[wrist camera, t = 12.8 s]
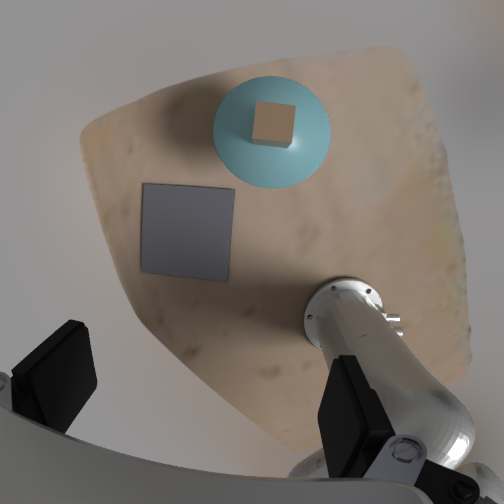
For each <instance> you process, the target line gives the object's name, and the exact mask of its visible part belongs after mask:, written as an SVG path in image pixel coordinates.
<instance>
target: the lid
mask: <svg viewBox="0 0 504 504" xmlns="http://www.w3.org/2000/svg"><path fill="white" fill-rule="evenodd" d="M330 134H331V131H330V123H329V119H328V115H327V113H326V110H325V108H324V107H323V105H322V103H321V102H320V100H319V99H318V98H317V97H316V96H315V95H314V94H313V93H312V92H311V91H310V90H309V89H308V88H306V87H305V86H303V85H302V84H300V83H298V82H296V81H293V80H290V79H287V78H283V77H276V76H266V77H259V78H254V79H251V80H248V81H246V82H244V83H242V84H240V85H239V86H237V87H236V88H234V89H233V90H232V91H231V92H230V93H229V94H228V95H227V96H226V97H225V98H224V100H223V101H222V103H221V104H220V106H219V108H218V110H217V112H216V115H215V119H214V124H213V139H214V144H215V148H216V150H217V153H218V155H219V157H220V159H221V161H222V162H223V163H224V165H225V166H226V167H227V168H228V169H229V170H230V172H232V173H233V174H234V175H235V176H236V177H238V178H240V179H241V180H243V181H245V182H247V183H249V184H251V185H255V186H258V187H263V188H283V187H288V186H291V185H294V184H297V183H299V182H301V181H303V180H304V179H306V178H307V177H309V176H310V175H311V174H312V173H313V172H315V171H316V169H317V168H318V167H319V166H320V164H321V163H322V161H323V160H324V158H325V156H326V154H327V151H328V148H329V144H330Z"/></svg>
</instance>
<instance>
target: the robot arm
mask: <svg viewBox="0 0 504 504" xmlns="http://www.w3.org/2000/svg"><path fill="white" fill-rule="evenodd" d="M332 286H334V287H333V288H331V287H332ZM367 289H368V290H367ZM309 314H311V315H310V316H308V315H309ZM399 321H400V316H399V314H386V312H385V311H384V310H383V304H382V301H381V298H380V296H379V294H378V293H377V292H376V290H375V289H374V288H373V287H372V286H371V285H369V284H368V283H366V282H364V281H363V280H359V279H356V278H341V279H337V280H334V281H331V282H329V283H327V284H325V285H324V286H322V287H321V288H320V289H318V290H317V291H316V292H315V293H314V294H313V296H312V297H311V299H310V300H309V302H308V304H307V306H306V308H305V312H304V328H305V332H306V335H307V337H308V338H309V340H310V342H311V343H312V344H313V345H314V346H315V347H317V348H318V349H320V350H322V351H323V354H324V357H325V360H326V363H327V366H328V369H329V376H328V380H327V384H326V387H325V391H324V394H323V398H322V401H321V404H320V408H319V411H318V424H319V429H320V434H321V439H322V444H323V448H321V449H319V450H318V451H316V452H315V453H313V454H312V455H310V456H309V457H307V458H306V459H304V460H303V461H301V462H300V463H298V464H297V465H296V466H295V467H294V468H293V469H292V471H291V472H290V473H289V475H288V477H287V478H274V477H256V476H243V475H231V474H223V473H215V472H208V471H201V470H195V469H189V468H183V467H178V466H173V465H167V464H163V463H158V462H154V461H149V460H146V459H141V458H138V457H133V456H130V455H126V454H123V453H119V452H116V451H112V450H109V449H106V448H103V447H100V446H97V445H93V444H91V443H88V442H84V441H82V440H79V439H77V438H74V437H71V436H69V435H66V434H65V432H66V431H67V429H68V428H69V427H70V425H71V424H72V422H73V420H74V419H75V418H76V416H77V415H78V413H79V412H80V410H81V409H82V408H83V406H84V405H85V403H86V402H87V400H88V399H89V398H90V396H91V395H92V393H93V392H94V391H95V389H96V387H97V377H96V372H95V368H94V362H93V357H92V351H91V345H90V338H89V333H88V328H87V327H86V326H85V324H84V323H83V322H80V321H75V320H68V321H67V322H66V323H65V324H64V325H62V326H61V327H60V328H59V329H58V330H56V331H55V332H54V333H53V334H52V335H51V336H49V337H48V338H47V339H46V340H45V341H44V342H42V343H41V344H40V345H39V346H38V347H37V348H36V349H34V350H33V351H32V352H31V353H30V354H29V355H28V356H27V357H25V358H24V359H23V360H22V361H21V362H20V363H19V364H18V365H16V366H15V367H14V368H13V369H12V370H11V371H12V374H13V376H12V377H11V378H10V377H9V376H8V375H7V374H6V373H3V372H0V504H504V482H503V481H502V480H501V479H500V477H499V476H498V475H497V474H496V473H495V472H494V471H493V470H492V469H491V468H490V467H488V466H487V465H485V464H483V463H479V462H470V463H467V464H464V465H462V466H460V467H458V466H459V465H460V464H461V462H462V461H463V460H464V459H465V458H466V456H467V455H468V453H469V452H470V450H471V448H472V446H473V443H474V440H475V423H474V420H473V418H472V416H471V414H470V412H469V411H468V409H467V408H466V406H465V405H464V404H463V403H462V402H461V401H460V400H459V399H458V398H457V397H456V396H455V395H454V394H453V393H452V392H450V391H449V390H448V389H447V388H446V387H445V386H443V385H442V384H441V383H440V382H439V381H438V380H437V379H436V378H434V377H433V376H432V375H431V374H430V373H429V372H428V371H427V370H426V368H425V367H424V366H423V365H422V364H421V363H420V361H419V360H418V359H417V358H416V357H415V355H414V354H413V353H412V352H411V350H410V349H409V348H408V346H407V345H406V344H405V343H404V341H403V340H402V339H401V338H402V336H403V329H402V328H401V327H392V326H391V325H390V324H389V322H390V323H399ZM457 467H458V468H457Z"/></svg>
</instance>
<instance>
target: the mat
mask: <svg viewBox="0 0 504 504" xmlns="http://www.w3.org/2000/svg"><path fill="white" fill-rule="evenodd" d="M234 198H235V190H231V189H219V188H206V187H192V186H176V185H158V184H144V193H143V215H142V272H146V273H154V274H162V275H171V276H179V277H187V278H196V279H205V280H214V281H223V282H227V281H228V269H229V257H230V244H231V232H232V220H233V209H234Z"/></svg>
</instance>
